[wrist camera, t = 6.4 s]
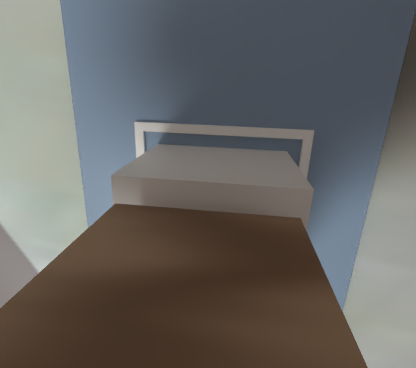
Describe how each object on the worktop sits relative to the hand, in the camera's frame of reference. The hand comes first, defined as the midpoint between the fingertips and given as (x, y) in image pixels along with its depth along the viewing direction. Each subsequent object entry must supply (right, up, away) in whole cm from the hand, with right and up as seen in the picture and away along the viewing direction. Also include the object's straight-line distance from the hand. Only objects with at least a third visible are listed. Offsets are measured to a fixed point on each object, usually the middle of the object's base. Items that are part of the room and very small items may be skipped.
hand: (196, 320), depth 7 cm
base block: (+1, +2, +7) cm, 7 cm away
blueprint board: (+1, +3, +8) cm, 8 cm away
